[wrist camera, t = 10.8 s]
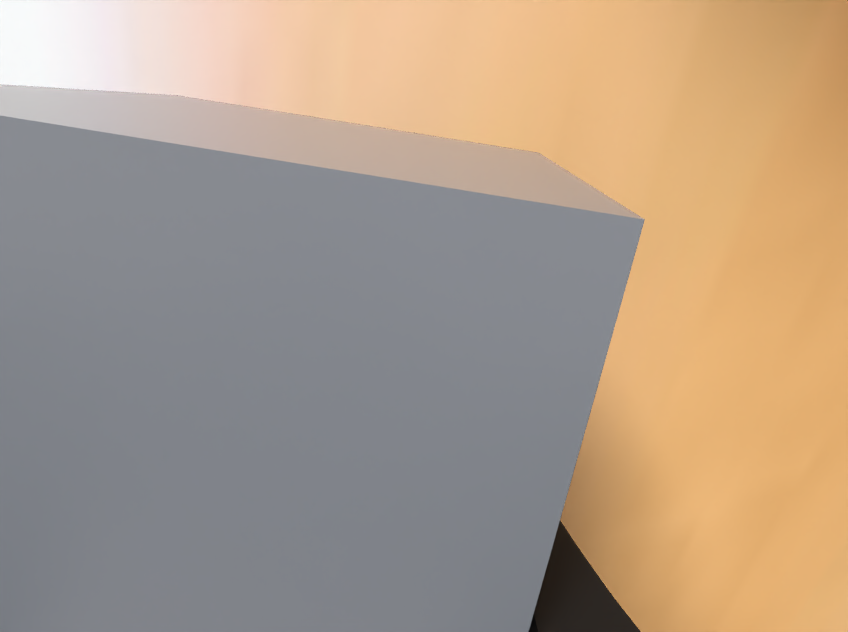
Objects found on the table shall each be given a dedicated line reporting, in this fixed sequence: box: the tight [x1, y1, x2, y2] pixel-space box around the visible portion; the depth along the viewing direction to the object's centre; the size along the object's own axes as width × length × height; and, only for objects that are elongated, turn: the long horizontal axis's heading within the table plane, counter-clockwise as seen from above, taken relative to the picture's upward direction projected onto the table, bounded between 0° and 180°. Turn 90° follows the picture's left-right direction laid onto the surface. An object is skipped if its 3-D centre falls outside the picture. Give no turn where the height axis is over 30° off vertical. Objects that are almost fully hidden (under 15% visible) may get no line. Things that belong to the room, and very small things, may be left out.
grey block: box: [0, 85, 645, 632], centre depth 8 cm, size 11×6×6 cm, turn 171°
